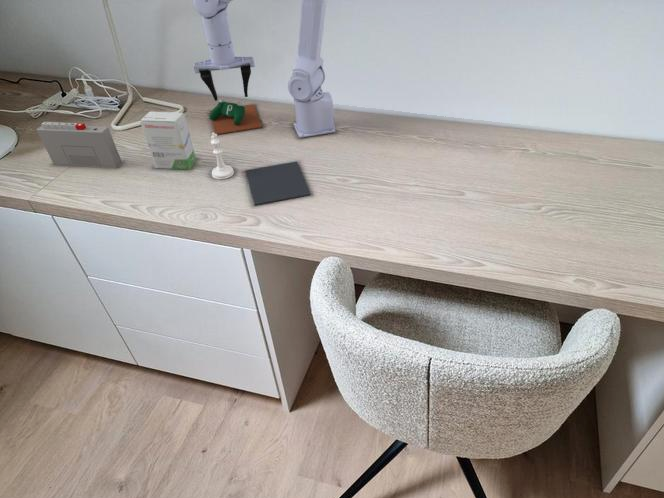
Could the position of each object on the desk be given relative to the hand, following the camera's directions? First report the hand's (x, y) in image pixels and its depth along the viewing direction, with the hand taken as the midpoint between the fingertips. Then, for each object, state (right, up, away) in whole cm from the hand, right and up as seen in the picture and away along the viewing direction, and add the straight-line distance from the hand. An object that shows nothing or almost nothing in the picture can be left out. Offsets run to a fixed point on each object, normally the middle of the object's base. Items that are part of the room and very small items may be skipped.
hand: (231, 97), depth 127 cm
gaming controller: (-1, -5, +4) cm, 6 cm away
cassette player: (-31, -20, -11) cm, 38 cm away
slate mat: (+15, -26, -18) cm, 35 cm away
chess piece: (+2, -23, -15) cm, 27 cm away
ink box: (-10, -20, -11) cm, 25 cm away
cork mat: (0, -4, +4) cm, 6 cm away
